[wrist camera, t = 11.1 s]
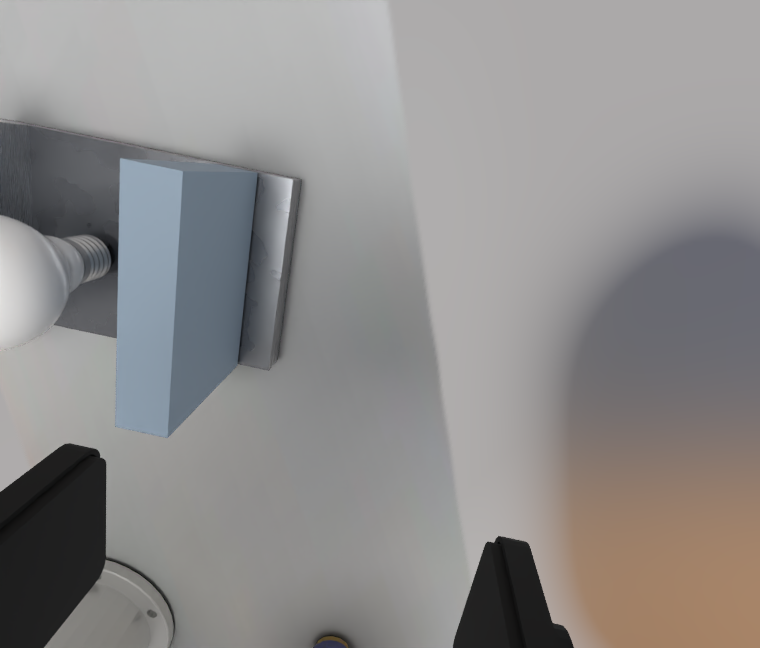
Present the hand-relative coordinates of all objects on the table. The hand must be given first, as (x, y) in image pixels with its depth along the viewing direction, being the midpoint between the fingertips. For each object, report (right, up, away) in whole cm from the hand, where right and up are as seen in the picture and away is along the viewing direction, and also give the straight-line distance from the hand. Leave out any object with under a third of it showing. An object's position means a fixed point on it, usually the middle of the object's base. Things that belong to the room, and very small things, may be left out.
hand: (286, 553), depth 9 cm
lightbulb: (-16, +9, +20) cm, 27 cm away
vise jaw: (-7, +8, +19) cm, 22 cm away
